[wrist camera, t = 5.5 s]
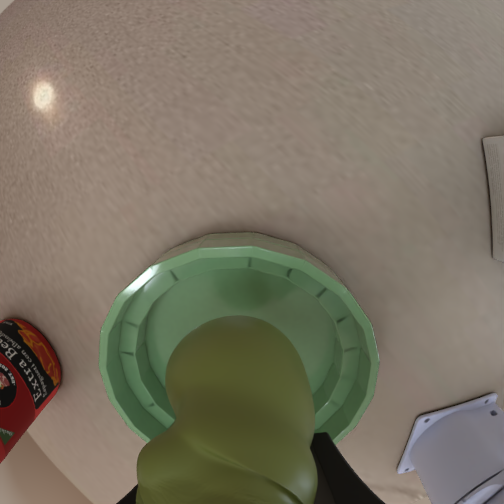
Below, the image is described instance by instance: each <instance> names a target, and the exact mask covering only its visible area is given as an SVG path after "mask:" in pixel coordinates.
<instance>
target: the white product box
mask: <svg viewBox="0 0 504 504" xmlns="http://www.w3.org/2000/svg"><path fill="white" fill-rule="evenodd" d="M482 140H483V146H484V151H485V157H486V164H487V171H488V179H489V189H490V199H491V213H492V231H493V258H494V259H496V260H498V261H501V262H503V263H504V136H494V137H485V138H483V139H482Z"/></svg>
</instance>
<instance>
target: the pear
mask: <svg viewBox="0 0 504 504" xmlns="http://www.w3.org/2000/svg"><path fill="white" fill-rule="evenodd" d="M165 386H166V392H167V396H168V399H169V402H170V404H171V406H172V408H173V410H174V413H175V415H176V419H175V421H174V423H173V424H172V426H171V427H170V428H169V429H167V430H166V431H164V432H163V433H161V434H159V435H158V436H156V437H155V438H153V439H152V440H150V441H149V442H148V443H147V444H146V445H145V446H144V447H143V448H142V450H141V452H140V453H139V456H138V460H137V480H138V489H137V494H136V504H314V501H315V496H316V492H317V485H318V475H317V468H316V464H315V461H314V458H313V455H312V453H311V450H310V446H311V443H312V440H313V436H314V430H315V410H314V403H313V397H312V392H311V388H310V384H309V380H308V377H307V373H306V370H305V367H304V365H303V362H302V360H301V357H300V355H299V353H298V352H297V350H296V348H295V347H294V345H293V344H292V343H291V341H290V340H289V339H288V338H287V337H286V336H285V335H284V334H283V333H282V332H281V331H280V330H279V329H277V328H276V327H274V326H273V325H271V324H270V323H268V322H266V321H264V320H261V319H258V318H255V317H250V316H243V315H233V316H225V317H220V318H216V319H213V320H210V321H208V322H206V323H204V324H202V325H200V326H198V327H197V328H195V329H194V330H192V331H191V332H190V333H188V334H187V335H186V336H185V337H184V338H183V339H182V340H181V341H180V342H179V344H178V345H177V346H176V348H175V349H174V351H173V352H172V354H171V356H170V358H169V361H168V364H167V368H166V375H165Z"/></svg>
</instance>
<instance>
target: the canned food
mask: <svg viewBox="0 0 504 504" xmlns="http://www.w3.org/2000/svg"><path fill="white" fill-rule="evenodd" d="M60 380H61V370H60V365H59V362H58V359H57V357H56V355H55V353H54V351H53V349H52V347H51V346H50V344H49V343H48V341H47V340H46V339H45V338H44V336H43V335H42V334H41V333H40V332H39V331H38V330H37V329H35V328H34V327H33V326H31V325H30V324H28V323H26V322H25V321H22V320H19V319H6V320H2V321H0V463H1V462H2V461H3V460H4V459H5V457H6V456H7V455H8V453H9V452H10V451H11V449H12V448H13V447H14V445H15V444H16V443H17V442H18V440H19V439H20V438H21V436H22V435H23V433H25V431H26V430H27V429H28V427H29V426H30V425H31V424H32V422H33V421H34V420H35V419H36V417H37V416H38V415H39V414H40V412H41V411H42V410H43V409H44V408H45V406H46V405H47V404H48V403H49V401H50V400H51V399H52V398H53V397H54V395H55V394H56V392H57V390H58V387H59V384H60Z"/></svg>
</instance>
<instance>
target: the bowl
mask: <svg viewBox="0 0 504 504" xmlns="http://www.w3.org/2000/svg"><path fill="white" fill-rule="evenodd" d="M233 315H243V316H250V317H255V318H258V319H261V320H264V321H266V322H268V323H270V324H271V325H273V326H274V327H276V328H277V329H279V330H280V331H281V332H282V333H283V334H284V335H285V336H286V337H287V338H288V339H289V340H290V341H291V343H292V344H293V345H294V347H295V348H296V350H297V352H298V353H299V355H300V357H301V360H302V362H303V365H304V367H305V370H306V373H307V377H308V380H309V384H310V388H311V392H312V397H313V403H314V410H315V430H314V433H321V432H327V433H328V434H329V435H330V437H331V439H332V441H333V442H334V444H335V445H336V444H337V443H338V442H339V441H340V440H342V439H343V438H344V437H345V436H346V435H347V434H348V433H349V432H350V431H352V430H353V429H354V428H355V426H356V425H357V424H358V422H359V420H360V419H361V417H362V415H363V414H364V412H365V410H366V409H367V407H368V405H369V403H370V402H371V400H372V398H373V396H374V391H375V386H376V380H377V375H378V369H379V363H380V362H379V361H380V360H379V355H378V350H377V345H376V341H375V336H374V331H373V327H372V324H371V322H370V321H369V319H368V318H367V316H366V315H365V313H364V312H363V310H362V309H361V307H360V306H359V305H358V303H357V302H356V300H355V299H354V297H353V296H352V295H351V293H350V292H349V290H348V289H347V288H346V287H345V285H344V284H343V283H342V282H341V280H340V279H339V278H338V277H337V276H336V275H335V273H334V272H333V271H332V270H331V269H330V268H329V266H327V265H326V264H324V263H323V262H321V261H320V260H319V259H317V258H316V257H314V256H313V255H311V254H310V253H308V252H307V251H305V250H304V249H303V248H301V247H300V246H298V245H297V244H294V243H291V242H288V241H284V240H280V239H277V238H273V237H270V236H266V235H263V234H259V233H256V232H255V233H253V232H239V233H216V234H208V235H205V236H202V237H200V238H197V239H195V240H192V241H189V242H187V243H184V244H182V245H179V246H176V247H174V248H172V249H170V250H169V251H168V252H166V253H165V254H164V255H163V256H162V257H160V258H159V259H158V260H157V261H155V262H154V263H153V264H152V265H151V266H149V267H148V268H147V269H146V270H145V271H144V272H143V273H141V274H140V275H139V276H138V277H137V278H136V279H135V280H134V281H132V282H131V283H130V284H129V285H128V286H127V287H126V288H125V289H123V290H122V291H121V292H120V293H119V294H118V295H117V297H116V299H115V301H114V303H113V305H112V307H111V309H110V311H109V313H108V315H107V317H106V319H105V322H104V324H103V326H102V328H101V331H100V347H99V369H100V372H101V376H102V379H103V382H104V385H105V388H106V392H107V395H108V398H109V400H110V402H111V403H112V405H113V406H114V407H115V409H116V410H117V412H118V413H119V415H120V416H121V417H122V419H123V420H124V422H125V423H126V424H127V426H128V427H129V428H130V429H131V430H132V431H133V432H135V433H136V434H137V435H138V436H139V437H140V438H142V439H143V440H144V441H145V442H147V443H148V442H149V441H150V440H152V439H153V438H155V437H156V436H158V435H159V434H161V433H163V432H164V431H166V430H167V429H169V428H170V427H171V426H172V424H173V423H174V421H175V419H176V415H175V413H174V410H173V408H172V406H171V404H170V402H169V399H168V396H167V392H166V386H165V375H166V368H167V364H168V361H169V358H170V356H171V354H172V352H173V351H174V349H175V348H176V346H177V345H178V344H179V342H180V341H181V340H182V339H183V338H184V337H185V336H186V335H187V334H188V333H190V332H191V331H192V330H194V329H195V328H197V327H198V326H200V325H202V324H204V323H206V322H208V321H210V320H213V319H216V318H220V317H225V316H233Z"/></svg>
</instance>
